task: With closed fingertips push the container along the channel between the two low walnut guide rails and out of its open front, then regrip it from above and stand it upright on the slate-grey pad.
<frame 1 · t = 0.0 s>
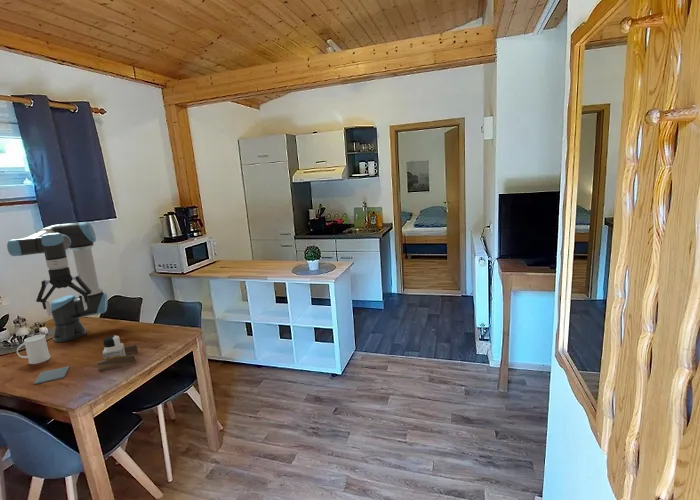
hand: (68, 312, 171), 28 cm above the table, fingers open, 13 cm apart
container: (116, 362, 180), on the table
mug: (35, 361, 186), on the table
rack: (119, 360, 182), on the table
pad: (52, 375, 170), on the table
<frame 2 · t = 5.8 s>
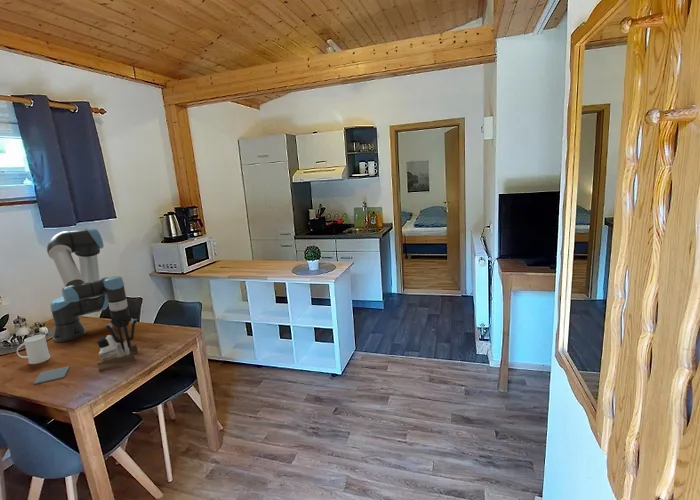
hand: (127, 353, 183), 3 cm above the table, fingers closed
container: (115, 361, 180), point 1 cm above the table, touching gripper
everything else where it was.
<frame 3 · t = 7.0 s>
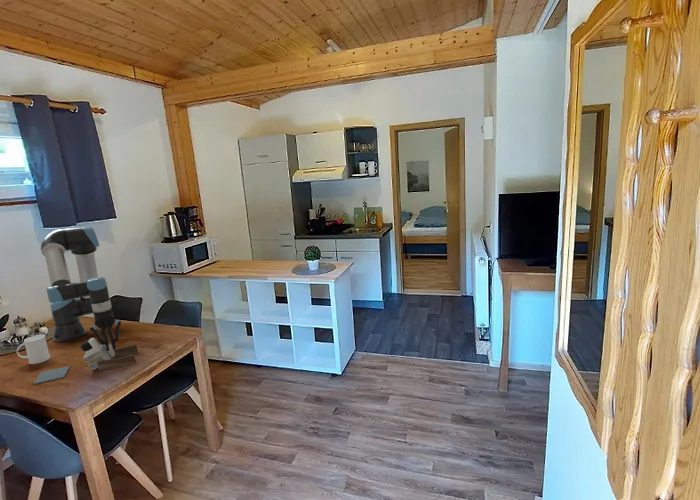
hand: (113, 355, 180), 3 cm above the table, fingers closed
container: (103, 363, 177), point 1 cm above the table, touching gripper
everything else where it was.
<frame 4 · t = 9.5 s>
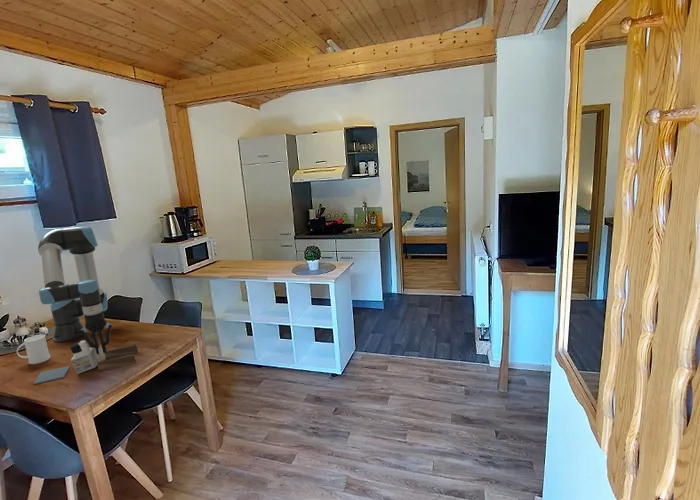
hand: (103, 359, 178), 3 cm above the table, fingers closed
container: (89, 367, 175), point 1 cm above the table, touching gripper
everything else where it was.
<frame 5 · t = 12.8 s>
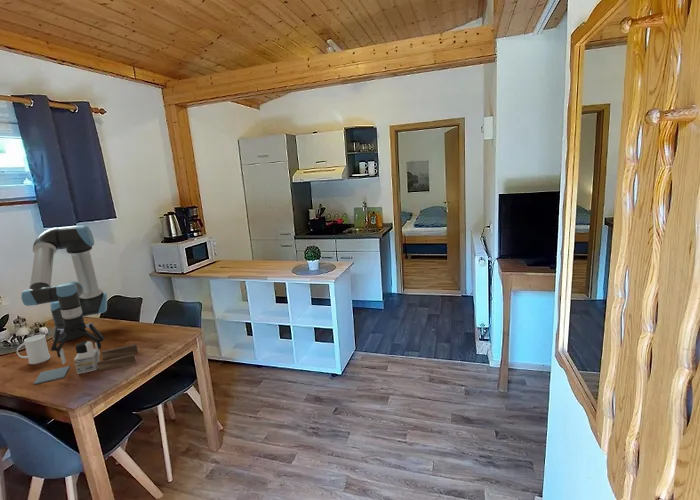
hand: (81, 359, 174), 5 cm above the table, fingers open, 13 cm apart
container: (89, 368, 175), on the table
everything else where it was.
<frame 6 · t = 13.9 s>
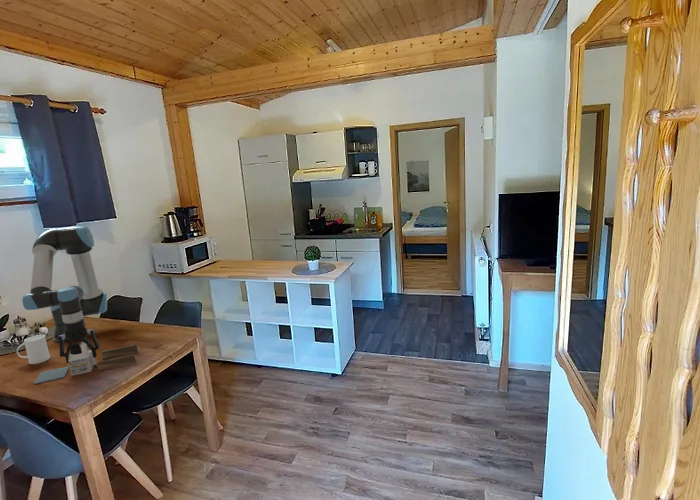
hand: (83, 366, 175), 1 cm above the table, fingers closed on container, 8 cm apart
container: (83, 370, 174), on the table, touching gripper
everything else where it was.
when the fingers open (3 cm above the table, at t = 18.8 s): container drops 1 cm, resting on pad.
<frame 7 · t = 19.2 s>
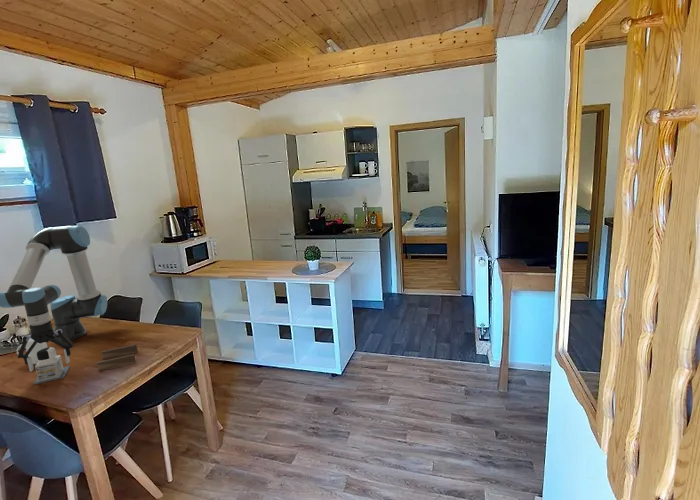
hand: (50, 366, 170), 5 cm above the table, fingers open, 13 cm apart
container: (51, 376, 169), resting on pad
everything else where it was.
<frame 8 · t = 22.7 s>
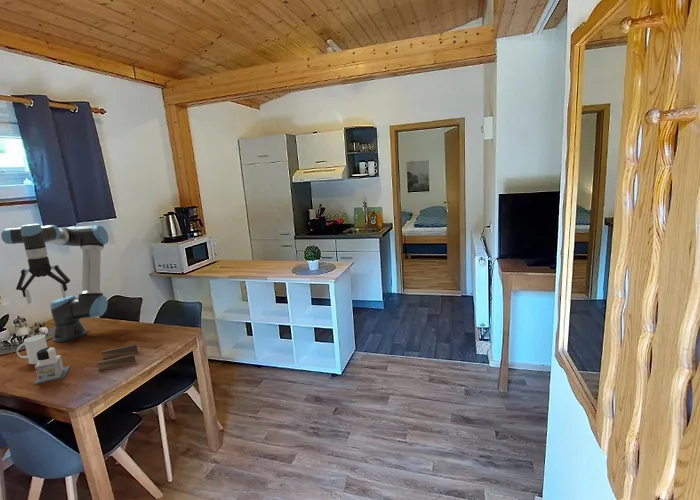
hand: (47, 300, 178), 32 cm above the table, fingers open, 13 cm apart
nothing on the table moved.
at the end: container inside the target area on the pad (1.5 cm from its centre), point 0.4 cm above the pad's base; container tilted 0°; the gripper is holding nothing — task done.
